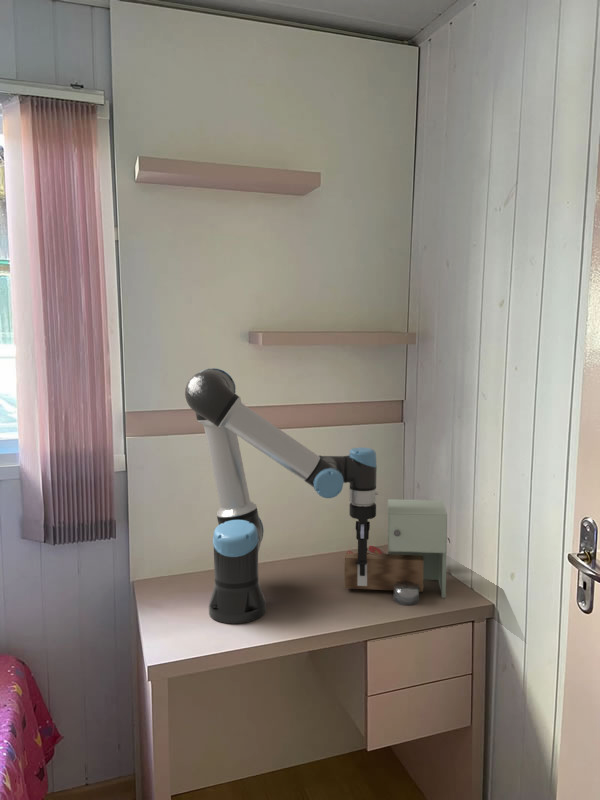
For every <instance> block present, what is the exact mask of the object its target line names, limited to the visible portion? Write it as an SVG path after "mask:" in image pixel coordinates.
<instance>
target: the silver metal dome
mask: <svg viewBox="0 0 600 800" xmlns="http://www.w3.org/2000/svg"><path fill="white" fill-rule="evenodd" d="M393 601H394V603H396V604H398V605H401V606H415V605H418V604H419V602H420V591H419V585H418V584H416V583H414V582H410V581H400V582H397V583H395V584H394V590H393Z"/></svg>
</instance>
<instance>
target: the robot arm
mask: <svg viewBox="0 0 600 800" xmlns="http://www.w3.org/2000/svg"><path fill="white" fill-rule="evenodd" d="M235 383H236V382H235V381H234V379H233V378H232V376H231V375H230V374H229V373H228V372H226V371H225V370H222V369H220V368H215V367H214V368H207V369H204V370H201V371H200V372H198V373H196V374H194V375H193V376H192V377H191V378H190V379H189V380H188V382H187V383H186V387H185V391H184V395H185V397H184V398H185V400H186V403H187V404H188V406H189V408H190V409H191V410H192V411H193V412H194V413H195V417H196V421H197V422H198V423H199V424H201V425H202V426H203V428H204V433H205V437H206V442H207V446H208V447H207V448H208V451H209V452H208V453H209V458H210V461H211V462H210V463H211V467H212V472H213V478H214V482H215V486H216V491H217V492H216V493H217V497H218V501H219V509H218V510H217V512H216V518H217V519H216V520H217V523H218V525H217V526H216V527H215V528H214V530H213V538H212V545H213V564H214V565H213V568H214V586H213V590H212V593H211V596H210V601H209V603H208V614H209V617H210V618H212V620H214V621H216V622H220V623H225V624H244V623H249V622H253V621H256V620H258V619H259V618H261V617H262V616H263V615H264V614H265V613H266V599H265V597H264V594H263V591H262V587H261V585H260V582H259V552H260V547H261V544H262V541H263V538H264V531H265V530H264V525H263V522H262V519H261V518H260V515H259V511H258V508H257V507H258V506H257V504H256V503H254V502H253V501H251V498H250V494H249V490H248V483H247V480H246V479H247V478H246V474H245V468H244V464H243V463H244V462H243V458H242V453H241V448H240V443H239V439H238V437H239V438H241V440H243V441H245V442H246V443H248V444H250V445H251V446H252V447H254V448H256V449H257V450H258V451H260V452H261V453H263V454H264V455H265V456H268V458H269V459H272V460H273V461H275V462H276V463H277V464H279V465H280V466H281V467H283V468H285V469H286V470H287V471H289V472H290V473H292V474H294V475H295V476H297V477H298V478H300V479H301V480H303V481H304V482H305V483H307V484H308V485H309V486H310V487H312V488H313V489H314V490H315V492H316V493H317V494H318V495H319V496H320V497H322V498H324V499H333V498H335V497H337V496H338V495H340V494H341V493H342V490H343V487H344V484H346V483H349V487H348V491H349V493H348V494H349V498H348V499H349V516H350V518H352V519H356V521H355V533H356V537H355V538H356V540H357V553H358V561H357V562H355V564H358V572H357V586H367V554H371V553H370V552H368V551H369V548H368V541H369V539H370V538H369V534H370V533H369V532H370V529H371V528H370V527H371V524H370V521H369V520H372V519H374V518H375V517H376V516H377V504H376V502H377V496H378V495H379V492H378V491H377V467H378V466H377V453H376V451H375V450H374V449H373V448H369V447H353V448H351V449H350V450H349V454H348V455H318V454H317V453H315V452H313V451H312V450H311V449H310V448H308V447H306V446H305V445H303V444H302V443H300V442H299V441H298V440H297V439H294V437H292V436H291V435H289V434H287V433H286V432H284V431H283V430H282V429H280V428H279V427H277V426H276V425H274V424H273V423H271V422H270V421H269V420H267V419H265V418H264V417H263V416H261V415H260V414H258V412H255V411H254V410H253V409H251V408H250V407H248V406H246V404H244V403H242V399H241V397H240V396H239V395H238V394H237V393H236V384H235Z"/></svg>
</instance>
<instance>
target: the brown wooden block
mask: <svg viewBox="0 0 600 800" xmlns="http://www.w3.org/2000/svg"><path fill="white" fill-rule="evenodd" d="M344 554H345V555H344V589H352V590H353V589H355V590H356V589H357V590H375V591H376V590H380V591H394V584H395V583H397V582H400V581H410V582H414V583H416V584H418V585H419V592H424V579H423V566H424V560H423V556H422V555H394V554H388V553H387V554H386V553H385V554H384V553H383V554H375V553H370V554H367V586H357V572H358V564H355V562H357V561H358V552H357V553H356V552H353V553H347V552H345V553H344Z"/></svg>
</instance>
